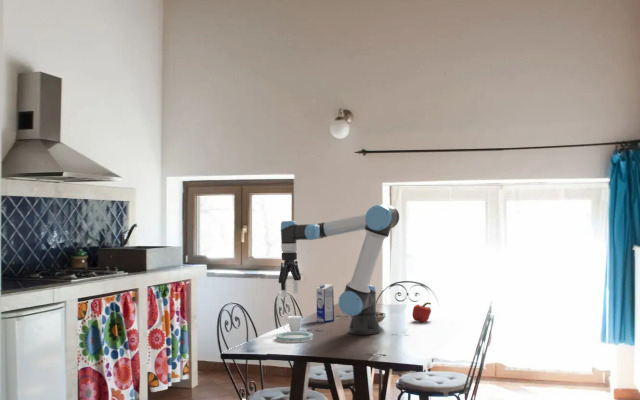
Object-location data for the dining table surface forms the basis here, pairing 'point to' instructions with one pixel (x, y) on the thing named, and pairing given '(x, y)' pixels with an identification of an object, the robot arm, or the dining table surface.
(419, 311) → the vegetable
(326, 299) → the milk carton
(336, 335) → the dining table surface
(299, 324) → the cup
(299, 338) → the saucer
